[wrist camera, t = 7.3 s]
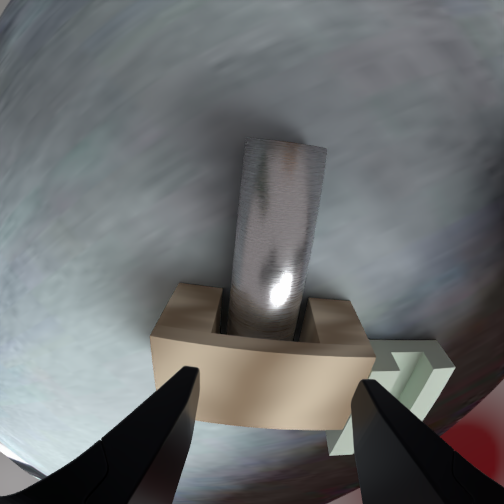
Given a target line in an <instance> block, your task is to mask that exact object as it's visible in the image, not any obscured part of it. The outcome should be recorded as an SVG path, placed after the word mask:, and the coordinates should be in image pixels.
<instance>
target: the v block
mask: <svg viewBox="0 0 504 504" xmlns="http://www.w3.org/2000/svg"><path fill="white" fill-rule="evenodd" d="M368 340H369V339H368ZM369 342H370V344H371V346H372V349H373V351H374V353H375V355H376V360H375V362H374V365H373V367H372V369H371V372H370V374H369V376H368V378H367V379H375V380H376V381H378V382H379V383H380V384H381V385H382V386H383V387H384V388H385V389H386V390H388V391H389V392H390V393H391V394H392V395H393V396H394V397H395V398H396V399H398V400H399V401H400V402H401V403H402V404H403V405H404V406H405V407H407V408H408V409H409V410H410V411H411V412H412V413H413V414H414V415H416V416H417V417H418V418H419V419H420V420H421V421H422V420H423V419H424V418H425V416H426V415H427V413H428V412H429V410H430V409H431V407H432V406H433V404H434V402H435V401H436V399H437V398H438V396H439V394H440V393H441V391H442V390H443V388H444V386H445V385H446V383H447V381H448V379H449V378H450V376H451V374H452V372H453V371H454V369H455V366H454V365H453V363H452V362H451V360H450V359H449V357H448V356H447V354H446V353H445V352H444V350H443V349H442V347H441V346H440V344H439V343H438V342H437V340H369ZM325 431H326V438H327V444H328V450H329V456H330V455H349V454H353V453H354V445H353V430H352V416H351V414H350V416H349V418H348V420H347V422H346V424H345V426H344V428H343V430H325Z"/></svg>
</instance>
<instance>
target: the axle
mask: <svg viewBox="0 0 504 504" xmlns="http://www.w3.org/2000/svg"><path fill="white" fill-rule="evenodd" d="M327 151H328V149H327V148H323V147H317V146H311V145H305V144H299V143H292V142H285V141H277V140H268V139H259V138H247V137H246V141H245V150H244V159H243V169H242V178H241V188H240V197H239V207H238V217H237V227H236V237H235V247H234V258H233V269H232V279H231V290H230V302H229V313H228V325H227V335H232V336H240V337H249V338H259V339H269V340H280V341H292V342H293V338H294V333H295V329H296V324H297V320H298V315H299V311H300V306H301V301H302V296H303V291H304V287H305V282H306V277H307V271H308V266H309V261H310V256H311V250H312V245H313V239H314V234H315V228H316V222H317V216H318V210H319V204H320V198H321V192H322V185H323V179H324V172H325V165H326V158H327Z"/></svg>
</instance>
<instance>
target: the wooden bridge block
mask: <svg viewBox="0 0 504 504" xmlns="http://www.w3.org/2000/svg"><path fill="white" fill-rule="evenodd" d="M222 293H223V288H217V287H209V286H201V285H193V284H186V283H179V284H178V286H177V287H176V289H175V291H174V293H173V294H172V296H171V298H170V300H169V302H168V303H167V305H166V307H165V309H164V311H163V312H162V314H161V316H160V318H159V320H158V322H157V323H156V325H155V327H154V329H153V331H152V333H151V335H150V343H151V353H152V362H153V370H154V378H155V386H156V391H157V390H158V389H159V388H160V387H161V386H162V385H163V384H164V383H166V382H167V381H168V380H169V379H170V378H171V377H172V376H173V375H174V374H176V373H177V372H178V371H179V370H180V369H181V368H182V367H183V366H191V367H197V368H199V370H200V394H199V400H198V406H197V412H196V418H195V420H197V421H203V422H210V423H218V424H225V425H234V426H244V427H255V428H268V429H288V430H343V428H344V426H345V424H346V422H347V420H348V418H349V416H350V414H351V400H352V397H353V395H354V392H355V390H356V388H357V386H358V383H359V382H360V380H362V379H367V378H368V376H369V374H370V372H371V369H372V367H373V365H374V362H375V360H376V355H375V353H374V351H373V349H372V346H371V344H370V342H369V340H368V338H367V335H366V333H365V331H364V329H363V327H362V325H361V323H360V320H359V318H358V316H357V314H356V312H355V310H354V308H353V306H352V304H351V302H350V301H344V300H332V299H321V298H310V297H309V298H308V303H307V308H306V312H305V317H304V321H303V325H302V330H301V334H300V338H299V342H292V341H280V340H269V339H259V338H249V337H240V336H232V335H223V334H220V322H221V307H222Z"/></svg>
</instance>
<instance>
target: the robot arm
mask: <svg viewBox="0 0 504 504" xmlns="http://www.w3.org/2000/svg"><path fill="white" fill-rule="evenodd" d="M199 394H200V370H199V368H197V367H191V366H183V367H182V368H181V369H180V370H179V371H178V372H177V373H176V374H174V375H173V376H172V377H171V378H170V379H169V380H168V381H167V382H166V383H164V384H163V385H162V386H161V387H160V388H159V389H158V390H157V391H155V392H154V393H153V394H152V395H151V396H150V397H149V398H148V399H146V400H145V401H144V402H143V403H142V404H141V405H140V406H138V407H137V408H136V409H135V410H134V411H133V412H132V413H130V414H129V415H128V416H127V417H126V418H125V419H123V420H122V421H121V422H120V423H119V424H118V425H116V426H115V427H114V428H113V429H112V430H111V431H109V432H108V433H107V434H106V435H105V436H104V437H102V438H101V440H102V441H101V440H98V441H97V442H96V443H95V444H94V445H93V446H91V447H90V448H89V449H88V450H86V451H85V452H84V453H82V454H81V455H80V456H78V457H77V458H76V459H74V460H73V461H71V462H70V463H68V464H67V465H65V466H64V467H62V468H61V469H59V470H57V471H56V472H54V473H52V474H51V475H49V476H47V477H45V478H44V479H42V480H40V481H38V482H37V483H35V484H33V485H31V486H29V487H28V488H26V489H24V490H22V491H20V492H17V493H15V494H11V495H7V496H0V504H172V502H173V499H174V496H175V492H176V489H177V486H178V483H179V480H180V477H181V473H182V470H183V467H184V464H185V461H186V458H187V454H188V451H189V448H190V444H191V440H192V435H193V430H194V424H195V418H196V412H197V406H198V400H199ZM351 416H352V430H353V445H354V454H355V460H356V465H357V471H358V477H359V483H360V489H361V495H362V501H363V504H504V487H503V486H501V485H500V484H498V483H497V482H495V481H494V480H492V479H491V478H489V477H488V476H486V475H485V474H484V473H482V472H481V471H480V470H478V469H477V468H476V467H474V466H473V465H472V464H471V463H469V462H468V461H467V460H466V459H464V458H463V457H462V456H461V455H460V454H459V453H458V452H456V451H454V449H453V448H452V447H451V446H449V445H448V444H447V443H446V442H445V441H444V440H443V439H442V438H440V437H439V436H438V435H437V434H436V433H435V432H434V431H432V430H431V429H430V428H429V427H428V426H427V425H426V424H425V423H423V422H422V421H421V420H420V419H419V418H418V417H417V416H416V415H414V414H413V413H412V412H411V411H410V410H409V409H408V408H407V407H405V406H404V405H403V404H402V403H401V402H400V401H399V400H398V399H396V398H395V397H394V396H393V395H392V394H391V393H390V392H389V391H388V390H386V389H385V388H384V387H383V386H382V385H381V384H380V383H379V382H378V381H376V380H375V379H362V380H360V382H359V383H358V386H357V388H356V390H355V392H354V395H353V397H352V400H351Z"/></svg>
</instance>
